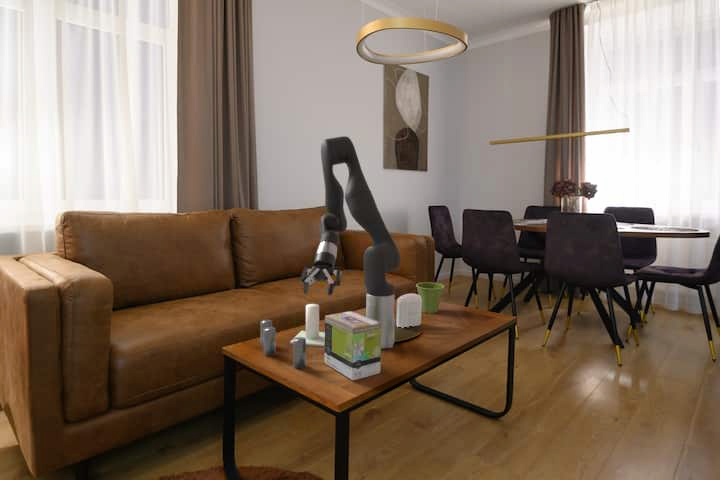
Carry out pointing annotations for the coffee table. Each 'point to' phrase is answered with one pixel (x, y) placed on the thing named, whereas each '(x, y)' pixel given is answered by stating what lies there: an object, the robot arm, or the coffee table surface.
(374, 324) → the tea box
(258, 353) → the coffee table surface
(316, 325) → the cylinder
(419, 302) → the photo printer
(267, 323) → the posts
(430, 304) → the plant pot
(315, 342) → the mat
